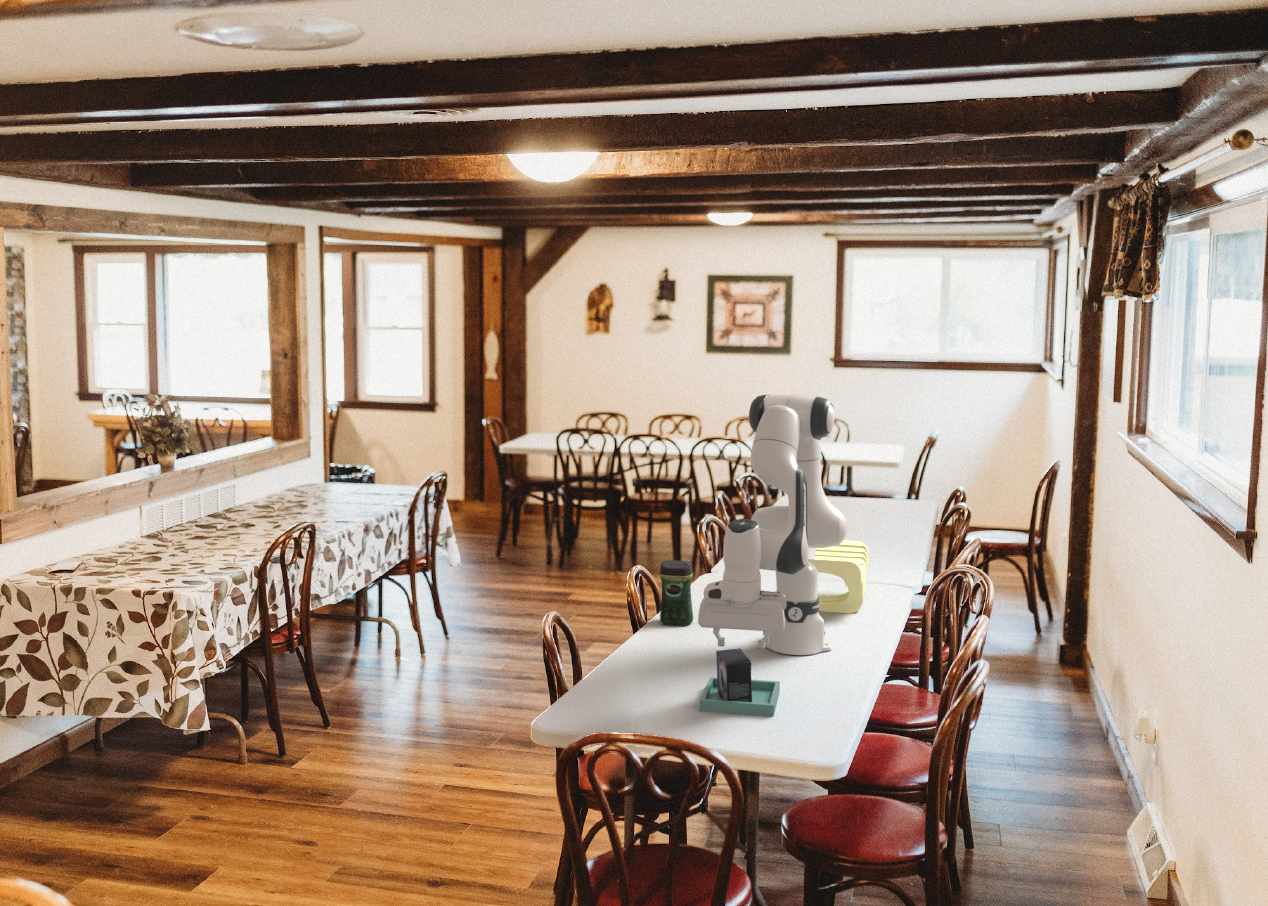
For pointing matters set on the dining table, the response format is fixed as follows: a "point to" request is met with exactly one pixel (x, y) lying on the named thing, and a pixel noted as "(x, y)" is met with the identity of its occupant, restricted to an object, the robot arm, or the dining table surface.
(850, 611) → the slatted curved stool
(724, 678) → the small box
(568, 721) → the dining table surface
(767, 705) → the teal tray
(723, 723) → the dining table surface
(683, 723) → the dining table surface
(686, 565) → the coffee jar
